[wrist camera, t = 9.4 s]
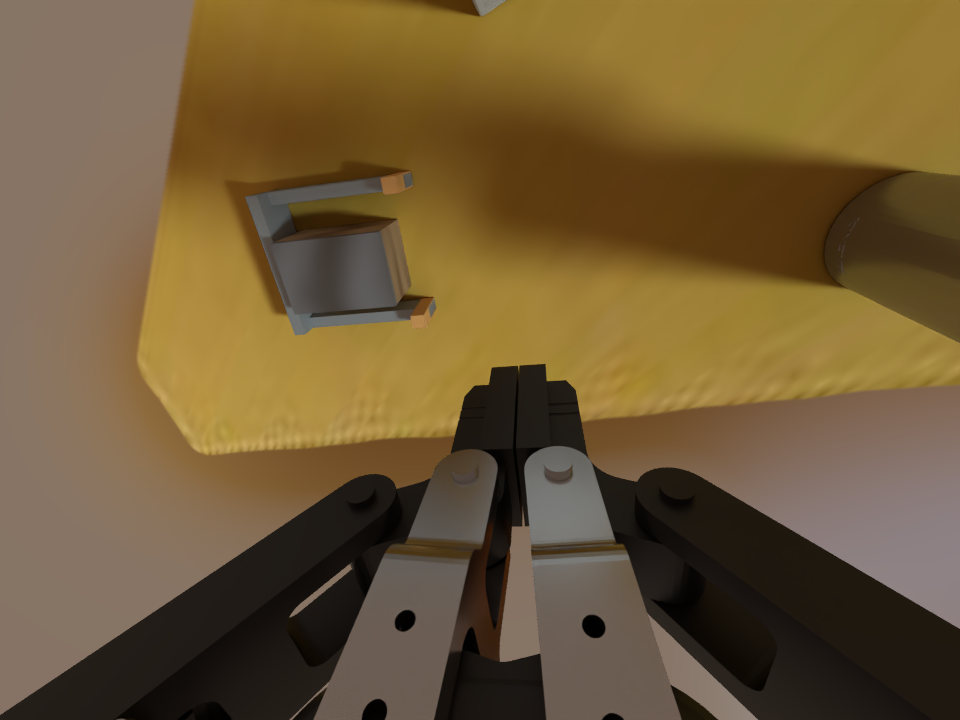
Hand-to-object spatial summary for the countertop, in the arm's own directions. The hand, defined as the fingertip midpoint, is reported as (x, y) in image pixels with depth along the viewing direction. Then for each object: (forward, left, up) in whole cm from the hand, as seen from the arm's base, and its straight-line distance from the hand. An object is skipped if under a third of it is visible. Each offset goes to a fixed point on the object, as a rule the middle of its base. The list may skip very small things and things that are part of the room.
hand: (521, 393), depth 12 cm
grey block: (+16, +2, -27) cm, 31 cm away
